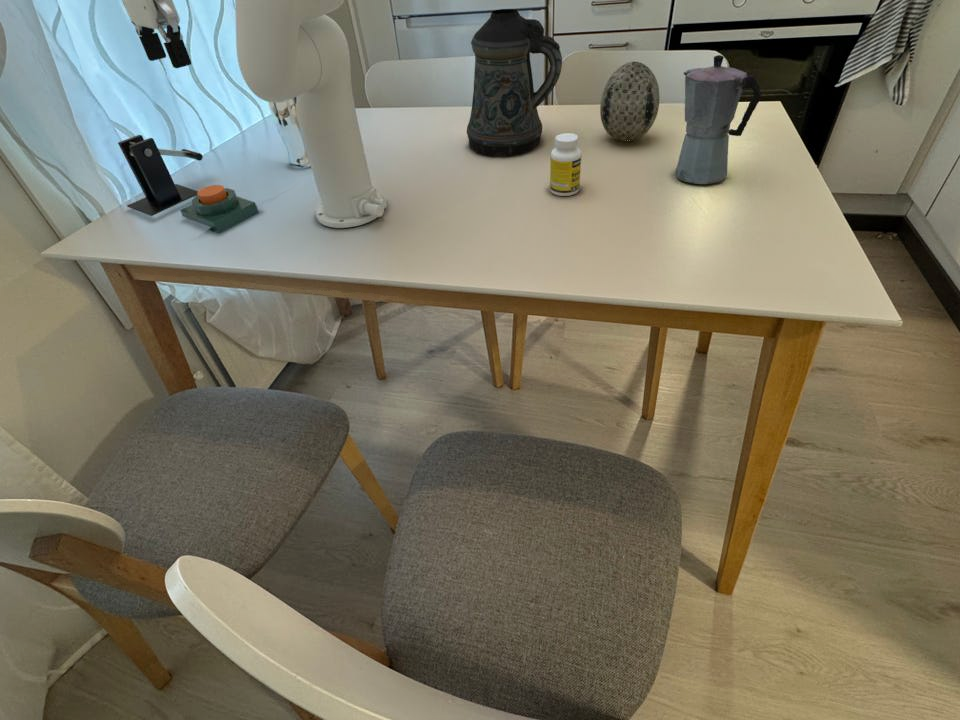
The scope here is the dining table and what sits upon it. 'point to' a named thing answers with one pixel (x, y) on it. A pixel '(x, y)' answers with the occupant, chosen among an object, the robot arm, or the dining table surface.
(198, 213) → the block
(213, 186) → the button
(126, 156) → the lever bracket
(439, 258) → the dining table surface
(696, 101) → the moka pot
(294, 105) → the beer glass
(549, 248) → the dining table surface
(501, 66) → the beer stein
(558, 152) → the supplement bottle
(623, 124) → the decorative egg
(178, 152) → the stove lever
